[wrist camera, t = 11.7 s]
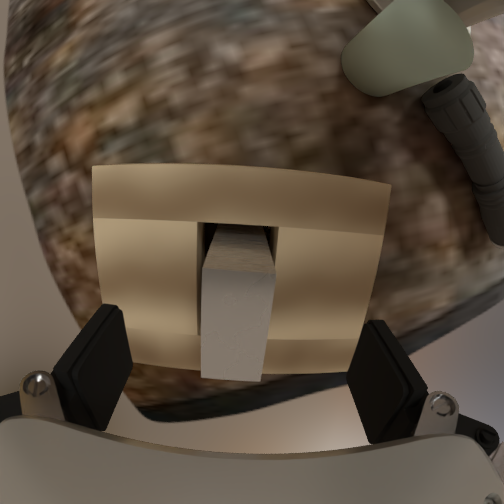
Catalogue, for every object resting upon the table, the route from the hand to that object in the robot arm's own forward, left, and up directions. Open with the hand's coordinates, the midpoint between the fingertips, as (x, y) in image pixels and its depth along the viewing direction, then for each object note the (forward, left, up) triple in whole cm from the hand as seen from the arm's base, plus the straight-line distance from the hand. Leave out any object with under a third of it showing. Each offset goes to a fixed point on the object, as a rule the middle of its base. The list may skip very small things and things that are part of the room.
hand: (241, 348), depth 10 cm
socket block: (+1, 0, -11) cm, 11 cm away
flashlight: (-10, +20, -12) cm, 25 cm away
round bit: (-15, +9, -11) cm, 21 cm away
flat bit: (+1, 0, -11) cm, 11 cm away
